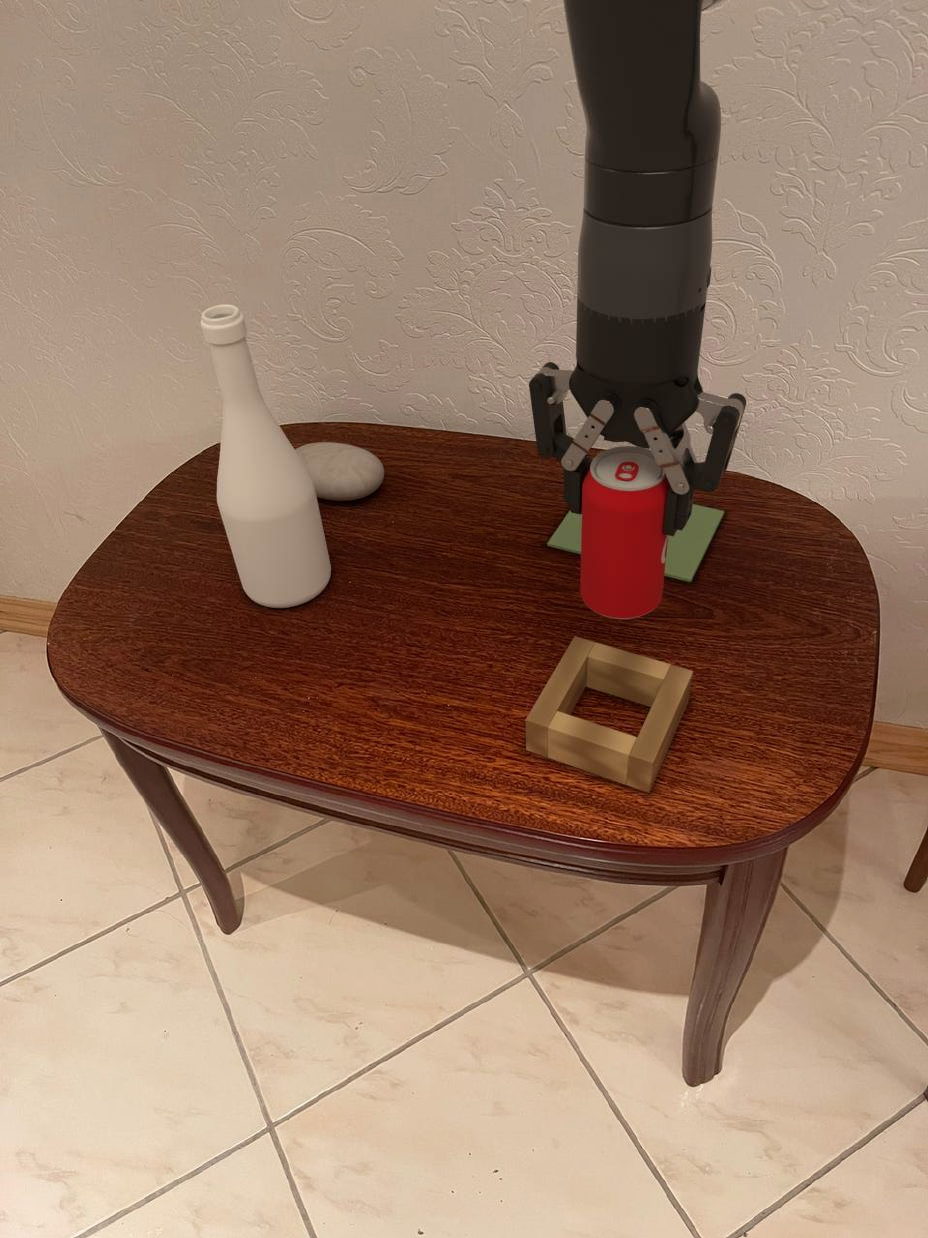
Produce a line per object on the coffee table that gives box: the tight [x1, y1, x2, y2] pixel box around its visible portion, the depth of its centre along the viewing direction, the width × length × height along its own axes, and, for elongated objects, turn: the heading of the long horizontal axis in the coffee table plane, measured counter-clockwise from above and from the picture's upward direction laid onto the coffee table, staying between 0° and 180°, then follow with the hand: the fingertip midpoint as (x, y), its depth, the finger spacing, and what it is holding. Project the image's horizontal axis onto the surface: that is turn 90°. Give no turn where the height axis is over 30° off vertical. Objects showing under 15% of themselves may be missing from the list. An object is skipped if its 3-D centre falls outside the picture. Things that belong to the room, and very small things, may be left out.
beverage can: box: [579, 445, 671, 620], centre depth 64 cm, size 6×6×12 cm
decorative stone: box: [294, 441, 385, 502], centre depth 106 cm, size 13×9×5 cm
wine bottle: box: [200, 304, 332, 609], centre depth 85 cm, size 10×10×30 cm
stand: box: [525, 635, 694, 794], centre depth 76 cm, size 11×11×4 cm
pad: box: [546, 503, 725, 583], centre depth 98 cm, size 16×13×1 cm
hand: (625, 517), depth 63 cm, fingers closed on beverage can, 6 cm apart
